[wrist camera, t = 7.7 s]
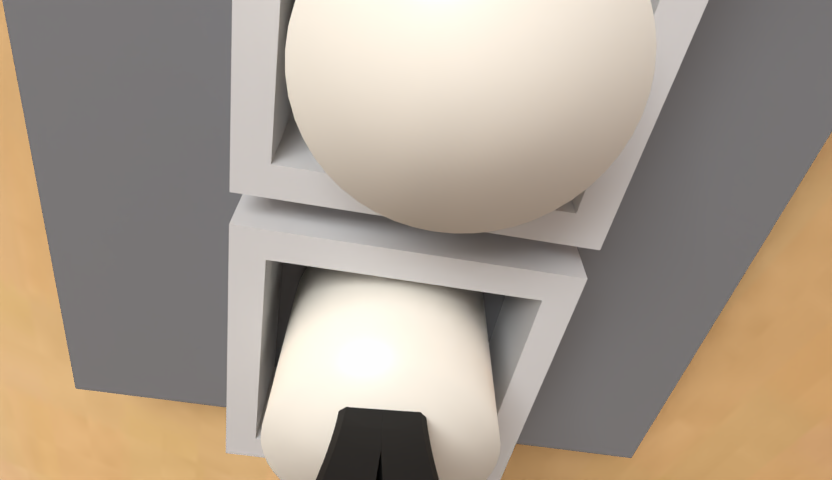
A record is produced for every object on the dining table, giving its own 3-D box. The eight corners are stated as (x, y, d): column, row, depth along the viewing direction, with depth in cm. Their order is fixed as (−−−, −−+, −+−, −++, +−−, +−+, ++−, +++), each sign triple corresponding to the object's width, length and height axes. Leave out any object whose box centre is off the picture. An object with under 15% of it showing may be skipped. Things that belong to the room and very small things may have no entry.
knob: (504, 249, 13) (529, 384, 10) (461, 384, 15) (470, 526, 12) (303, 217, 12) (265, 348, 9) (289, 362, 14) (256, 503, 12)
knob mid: (626, -122, 9) (723, -80, 6) (542, 135, 11) (584, 255, 8) (341, -183, 8) (299, -171, 6) (314, 96, 11) (275, 206, 8)
